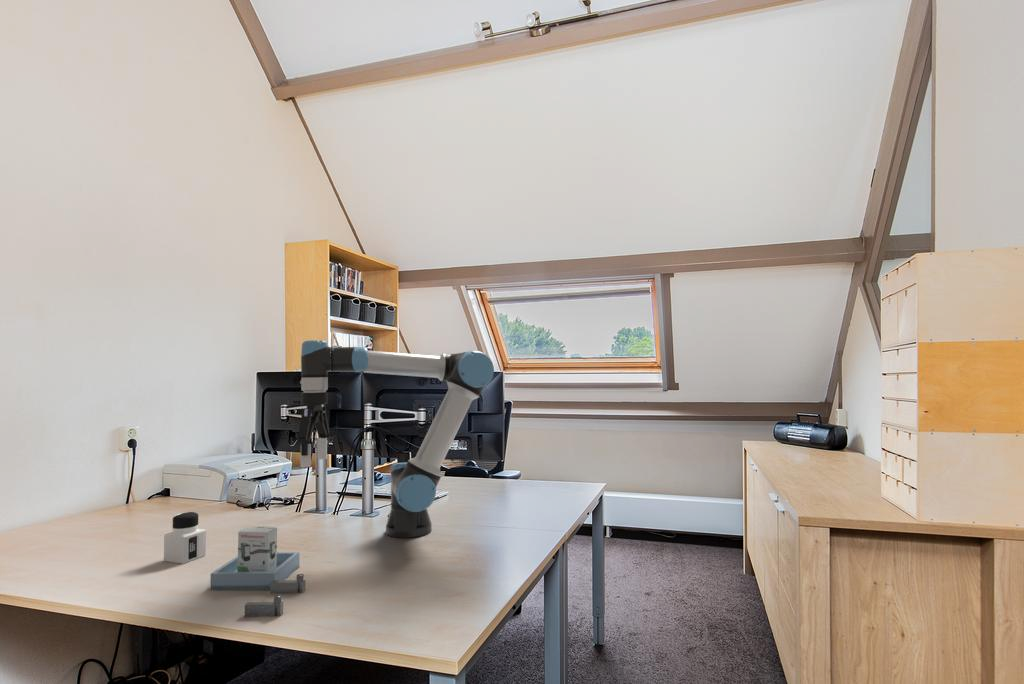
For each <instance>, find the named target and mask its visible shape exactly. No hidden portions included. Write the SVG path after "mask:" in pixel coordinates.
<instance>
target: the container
mask: <svg viewBox="0 0 1024 684" xmlns="http://www.w3.org/2000/svg"><path fill="white" fill-rule="evenodd" d="M163 539H164V540H163V561H164V562H167V563H175V564H182V565H184V564H187V563H190V562H192V561H195V560H198V559H200V558H202V557H205V556H206V555H207V554H206V551H207V548H206V547H207V530H206V529H204V528H203V529H202V528H199V513H198V512H195V511H186V512H180V513H177V514H175V515H173V516H172V531H171V532H168V533H165V534H164V535H163Z"/></svg>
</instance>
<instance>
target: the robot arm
mask: <svg viewBox="0 0 1024 684" xmlns="http://www.w3.org/2000/svg"><path fill="white" fill-rule="evenodd" d="M328 344H329V343H328V341H327V340H319V339H318V340H305V341H302V343H301V353H300V358H301V359H300V365H301V366H300V369H301V371H300V373H301V375H300V376H301V380H300V381H299V384H301V385H300V387H301V389H300V390H301V394H300V405H302V406H306V409H305V408H302V409H301V417H300V422H299V428H298V434H297V438H296V445H300V453H299V454H300V459H299V460H300V461H299V462H300V465H299V467H300V468H311V467H312V463H311V461H312V460H311V459H312V457H311V456H312V454H311V453H312V443H310V442H311V437H312V436H313V435H312V434H313V432H314V429H315V430H316V432H317V435H318V437H317V439H316V440H317V442H316V443H317V444H316V446H317V451H316V453H317V455H316V456H317V457H316V458H317V460H327V459H328V438H330V437H331V432H330V427H329V422H328V416H327V406H326V405H328V394H329V393H328V392H327V391H328V390H329V389H328V388H329V382H328V381H329V378H328V377H329V376H328V373H329V372H330V373H331V372H332V373H333V372H335V373H336V372H340V373H341V372H344V373H345V372H346V373H350V372H351V373H367V374H380V375H392V376H393V375H394V376H404V377H405V376H407V377H418V378H419V377H420V378H421V377H422V378H435V379H438V380H439V381H440V382H446V384H447V387H448V390H447V392H446V394H445V395H444V398H443V400H442V402H441V404H440V405H439V408H438V410H437V412H436V413H435V415H434V418H433V419H432V422H431V425H430V427H429V429H428V430H427V432H426V435H425V437H424V439H423V440H422V443H421V445H420V447H419V449H418V450H417V452H416V455H415V457H412V458H410V459H408V460H407V462H406V461H405V462H397V463H396V462H395V463H393V464H391V466H390V468H391V469H390V512H389V514H388V518H387V521H386V524H385V535H387V536H389V537H393V538H399V539H401V538H403V539H406V538H416V537H420V536H425V535H427V534H429V533H430V532H431V531H432V530H433V528H432V527H433V526H432V525H433V523H432V521H431V518H430V514H429V512H428V508H429V507H430V506H431V505H433V503H434V501H435V498H436V494H437V489H436V488H437V486H438V485H439V482H440V480H441V478H442V476H443V475H442V472H441V467H442V464H443V463H444V460H445V459H446V457H447V454H448V452H449V450H450V448H451V446H452V444H453V442H454V439H455V437H456V436H457V434H458V431H459V429H460V427H461V425H462V422H463V421H464V419H465V416H466V415H467V412H468V410H469V409H470V407H471V404H472V402H473V401H474V400H476V399H478V398H479V399H480V396H481V394H482V393H483V391H484V388H485V386H487V385H488V384H489V383H490V382H491V381H492V379H493V377H494V374H495V373H494V372H495V368H494V367H495V366H494V363H493V361H492V359H491V358H490V357H489V356H488V354H487V353H484V352H482V351H479V350H468V351H463V352H459V353H458V352H457V353H441V354H440V355H428V354H418V353H404V352H393V351H392V352H391V351H380V350H379V351H378V350H368V348H367V347H362V346H346V347H345V346H340V347H337V346H336V347H335V346H334V347H333V346H332V347H331V346H329V345H328ZM302 391H303V392H302ZM323 405H324V406H323Z"/></svg>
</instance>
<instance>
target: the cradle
mask: <svg viewBox="0 0 1024 684" xmlns="http://www.w3.org/2000/svg"><path fill="white" fill-rule="evenodd" d="M304 577H305V576H304V573H299V574H296V579H293V580H292V579H290V580H289V579H287V580H286V579H285V580H273V581H272V582H271V583H270V591H269V592H270V594H277V595H274V596H273V601H251V602H250V601H248V602H246V603H245V604H244V615H243V616H244V617H282V615H283V614H284V601H282V595H281V594H302V593H304V592H305V591H306V579H305V578H304Z"/></svg>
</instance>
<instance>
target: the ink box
mask: <svg viewBox="0 0 1024 684" xmlns="http://www.w3.org/2000/svg"><path fill="white" fill-rule="evenodd" d="M237 537H238V538H237V542H238V544H237V556H238V569H237V572H272V571H274V570H275V569H276V564H277V552H278V528H277V526H266V525H265V526H264V525H263V526H262V525H261V526H260V525H249V526H246V527H245V528H243V529H241V530H240V531H238V536H237Z"/></svg>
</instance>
